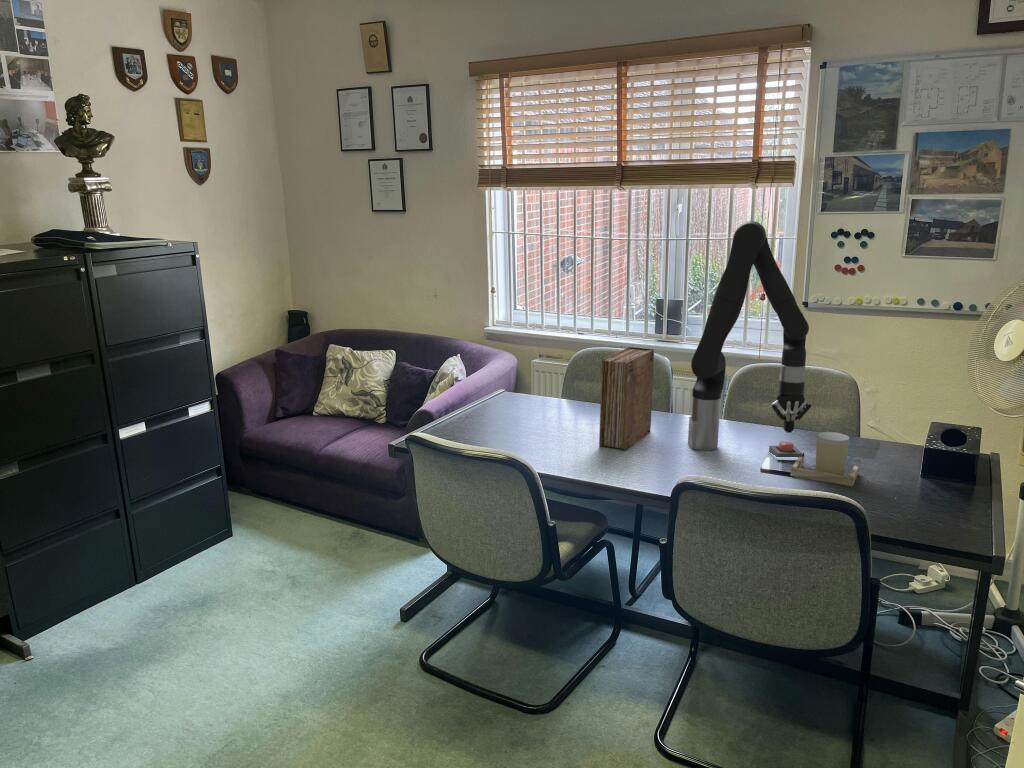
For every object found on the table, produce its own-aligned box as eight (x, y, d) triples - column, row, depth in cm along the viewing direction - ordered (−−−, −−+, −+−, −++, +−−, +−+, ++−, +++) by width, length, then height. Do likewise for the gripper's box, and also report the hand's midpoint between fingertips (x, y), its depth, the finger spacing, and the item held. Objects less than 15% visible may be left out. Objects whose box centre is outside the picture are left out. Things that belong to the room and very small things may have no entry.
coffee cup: (840, 469, 234) (844, 431, 231) (850, 480, 225) (855, 441, 222) (808, 468, 234) (812, 431, 232) (818, 479, 225) (822, 440, 222)
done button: (781, 454, 243) (781, 445, 242) (776, 450, 247) (777, 441, 246) (794, 454, 243) (795, 445, 242) (790, 450, 247) (790, 441, 246)
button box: (776, 460, 241) (777, 453, 241) (768, 452, 249) (769, 445, 248) (802, 460, 241) (802, 453, 241) (793, 452, 249) (793, 445, 248)
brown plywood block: (624, 451, 250) (628, 362, 243) (598, 447, 254) (601, 359, 247) (650, 431, 271) (654, 349, 264) (626, 428, 276) (629, 346, 269)
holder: (852, 486, 219) (853, 478, 219) (790, 475, 228) (791, 468, 227) (857, 474, 230) (858, 466, 229) (798, 464, 238) (798, 456, 237)
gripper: (774, 381, 235) (771, 435, 239) (817, 381, 235) (813, 435, 239) (767, 376, 243) (763, 428, 247) (809, 376, 242) (804, 428, 246)
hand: (788, 431), depth 243 cm, fingers closed
